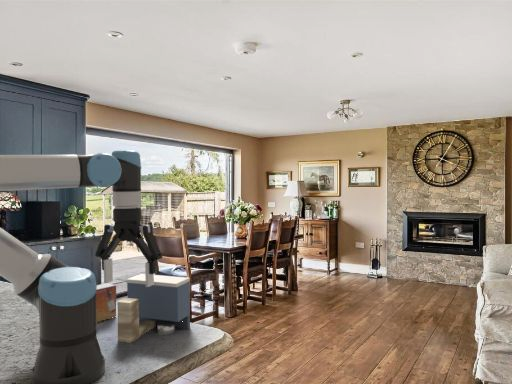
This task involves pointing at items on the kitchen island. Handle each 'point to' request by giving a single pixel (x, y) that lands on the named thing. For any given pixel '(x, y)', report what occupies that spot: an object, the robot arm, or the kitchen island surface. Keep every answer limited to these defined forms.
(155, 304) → the navy cabinet
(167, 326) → the steel token
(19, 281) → the robot arm
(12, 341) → the kitchen island surface
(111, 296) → the small box
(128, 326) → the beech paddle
